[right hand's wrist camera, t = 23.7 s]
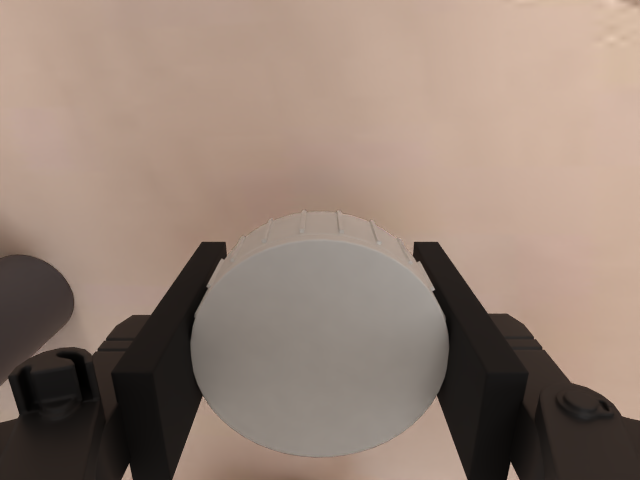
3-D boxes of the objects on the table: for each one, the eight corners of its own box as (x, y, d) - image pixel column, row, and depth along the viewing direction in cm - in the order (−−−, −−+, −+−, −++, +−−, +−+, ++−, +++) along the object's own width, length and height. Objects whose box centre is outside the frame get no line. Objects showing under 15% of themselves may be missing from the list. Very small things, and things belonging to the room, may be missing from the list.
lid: (386, 423, 14) (397, 481, 12) (188, 374, 13) (164, 428, 11) (467, 246, 11) (498, 282, 10) (235, 177, 11) (217, 200, 9)
